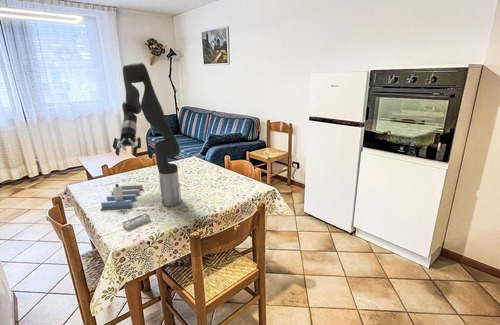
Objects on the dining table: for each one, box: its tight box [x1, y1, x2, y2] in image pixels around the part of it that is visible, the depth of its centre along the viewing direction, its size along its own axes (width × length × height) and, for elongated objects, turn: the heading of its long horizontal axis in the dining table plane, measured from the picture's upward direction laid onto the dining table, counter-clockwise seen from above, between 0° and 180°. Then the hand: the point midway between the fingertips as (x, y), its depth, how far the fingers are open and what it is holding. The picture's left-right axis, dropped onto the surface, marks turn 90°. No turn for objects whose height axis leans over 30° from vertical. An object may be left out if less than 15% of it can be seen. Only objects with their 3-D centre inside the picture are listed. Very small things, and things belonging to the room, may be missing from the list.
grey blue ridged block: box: [100, 183, 144, 212], centre depth 144 cm, size 14×26×4 cm, turn 7°
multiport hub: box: [122, 213, 151, 231], centre depth 120 cm, size 4×11×2 cm, turn 141°
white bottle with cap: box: [112, 183, 123, 201], centre depth 136 cm, size 4×4×10 cm
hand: (125, 154), depth 146 cm, fingers open, 8 cm apart
